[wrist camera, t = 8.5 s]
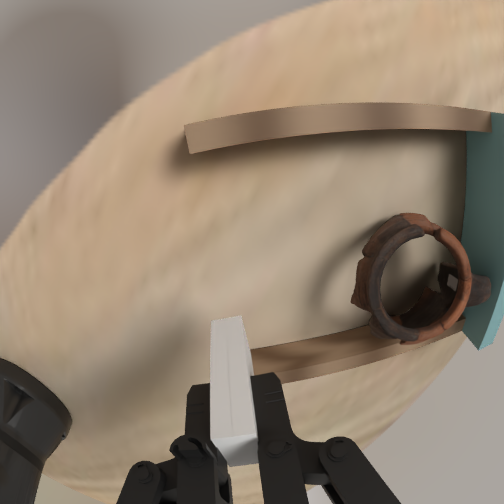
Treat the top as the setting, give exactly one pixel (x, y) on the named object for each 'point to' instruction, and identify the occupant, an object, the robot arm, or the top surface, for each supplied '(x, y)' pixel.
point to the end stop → (485, 228)
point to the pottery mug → (431, 302)
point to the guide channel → (324, 121)
